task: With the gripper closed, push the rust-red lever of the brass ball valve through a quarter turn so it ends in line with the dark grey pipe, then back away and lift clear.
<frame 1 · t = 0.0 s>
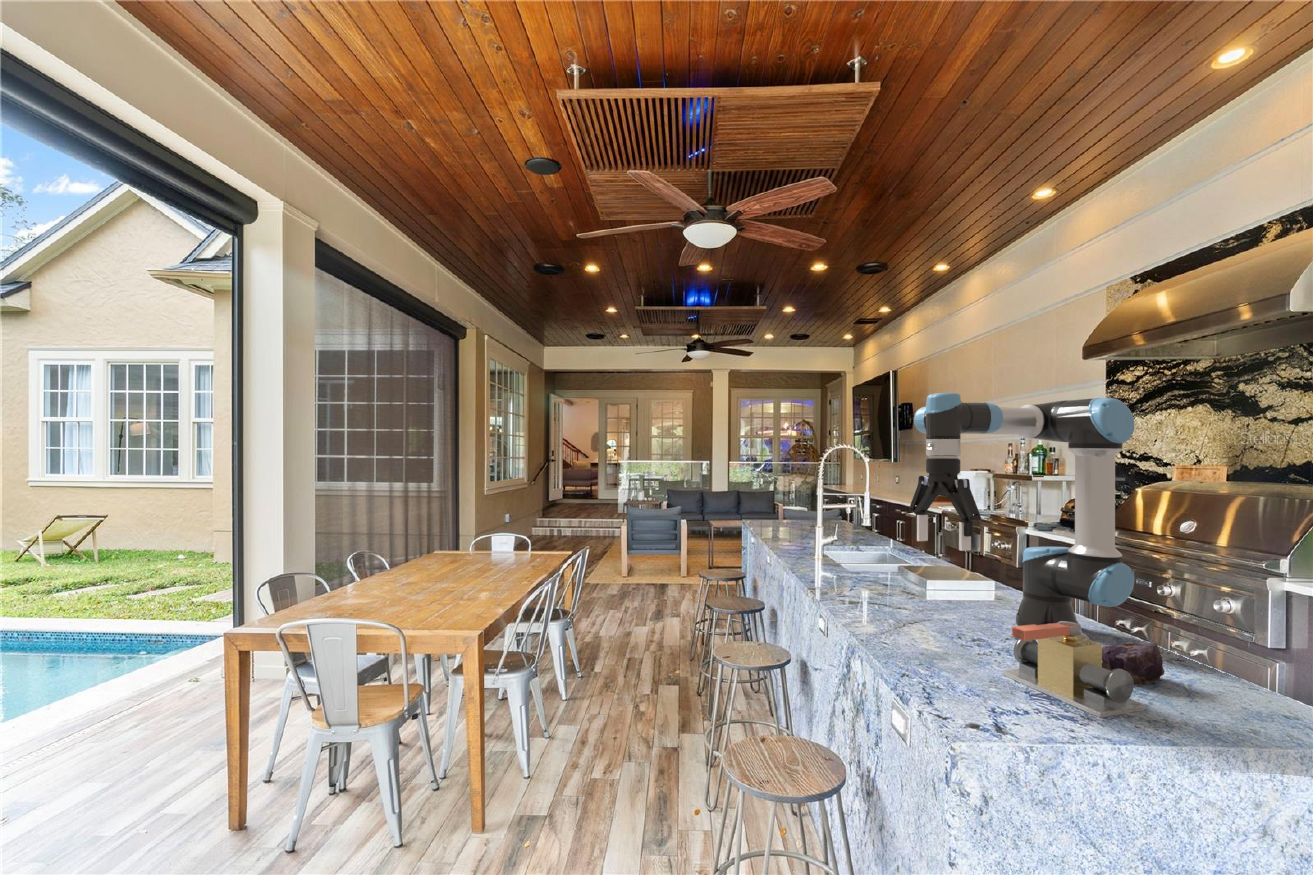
hand: (942, 545, 145), 28 cm above the countertop, fingers open, 13 cm apart
cup: (1069, 666, 142), on the countertop
rock: (1136, 681, 134), on the countertop
lever: (1047, 630, 126), point 14 cm above the countertop, hinge at 0.0°
valve: (1069, 691, 128), on the countertop
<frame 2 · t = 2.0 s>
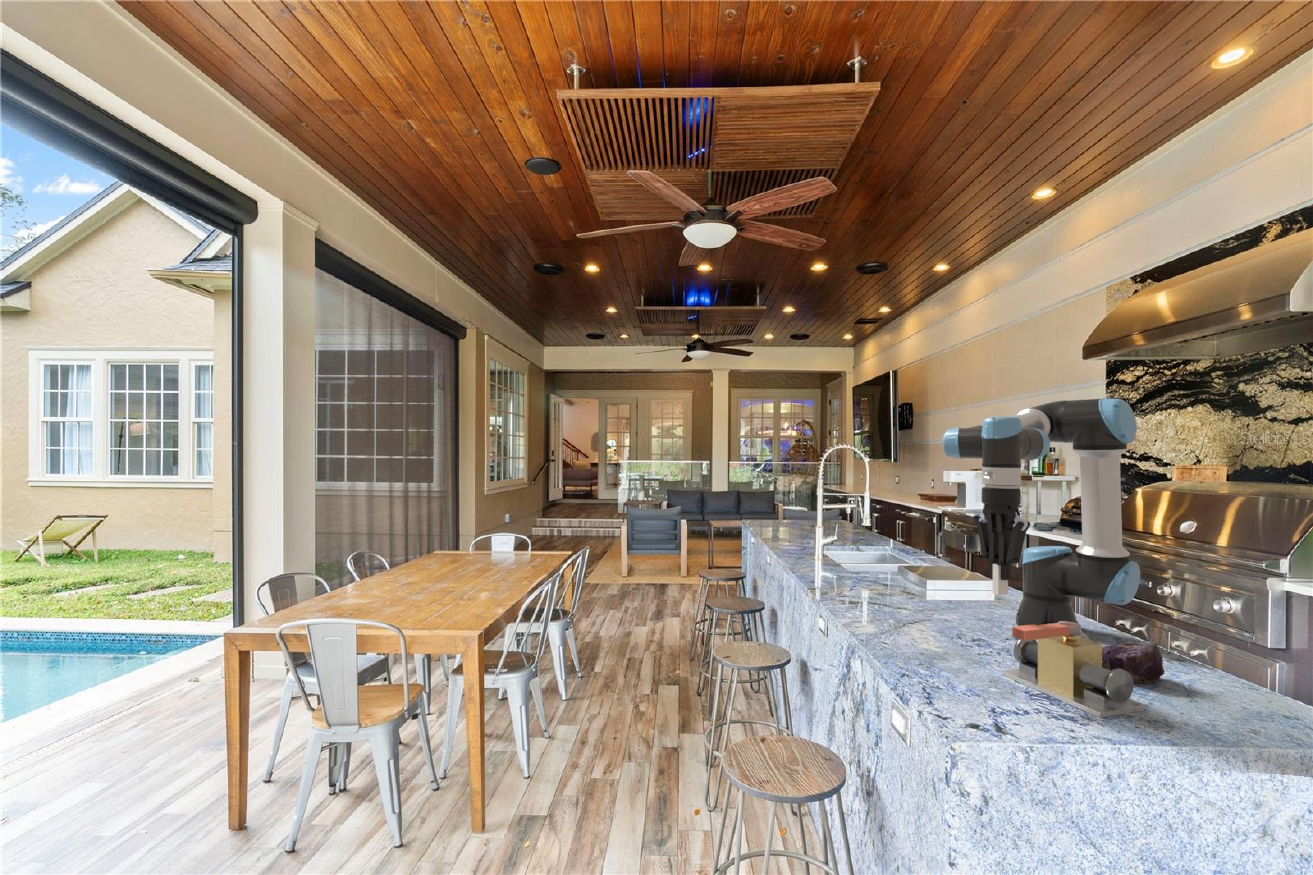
hand: (1000, 593, 132), 20 cm above the countertop, fingers closed
nothing on the countertop moved.
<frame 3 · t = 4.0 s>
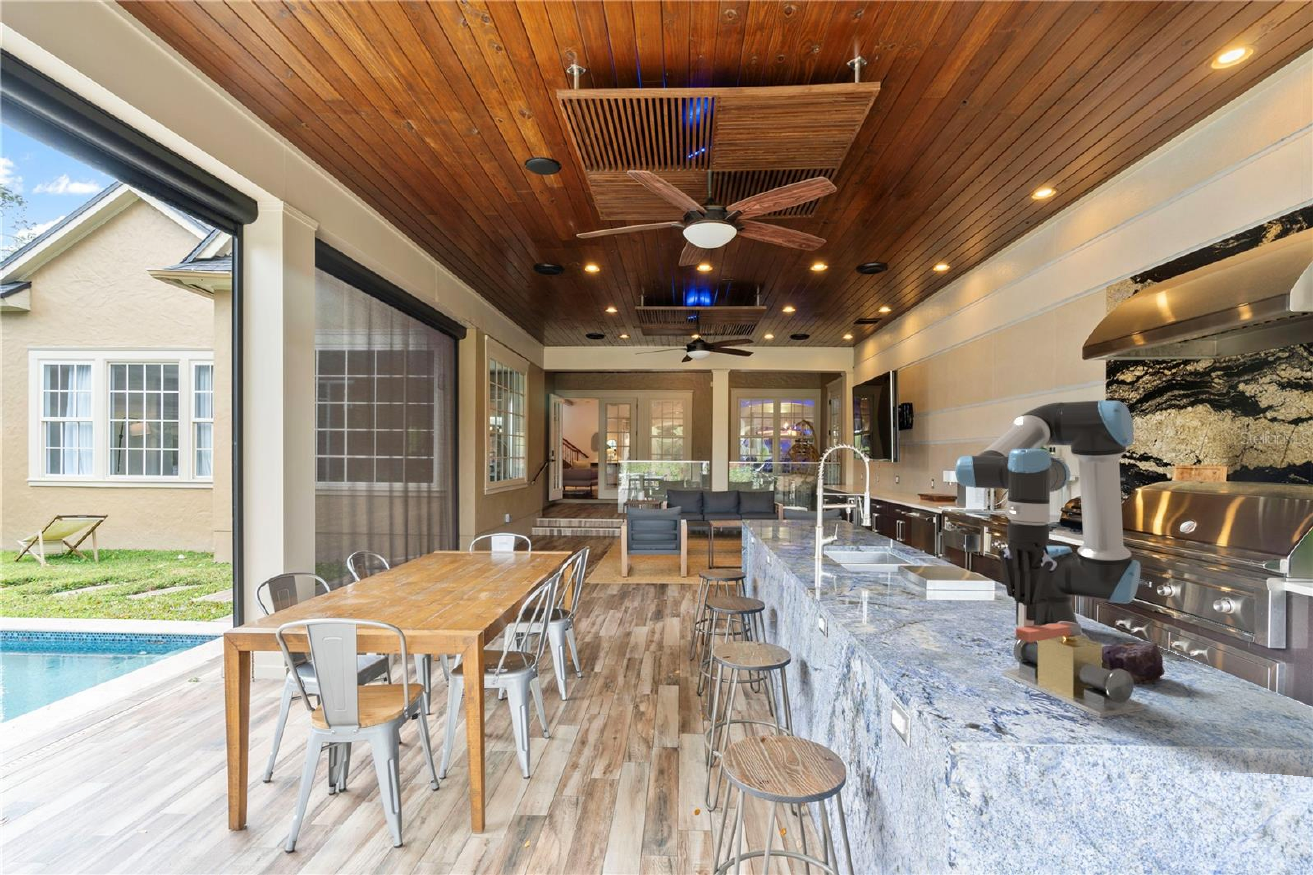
hand: (1025, 634, 126), 13 cm above the countertop, fingers closed
lever: (1049, 630, 126), point 14 cm above the countertop, hinge at 3.9°, touching gripper
everything else where it was.
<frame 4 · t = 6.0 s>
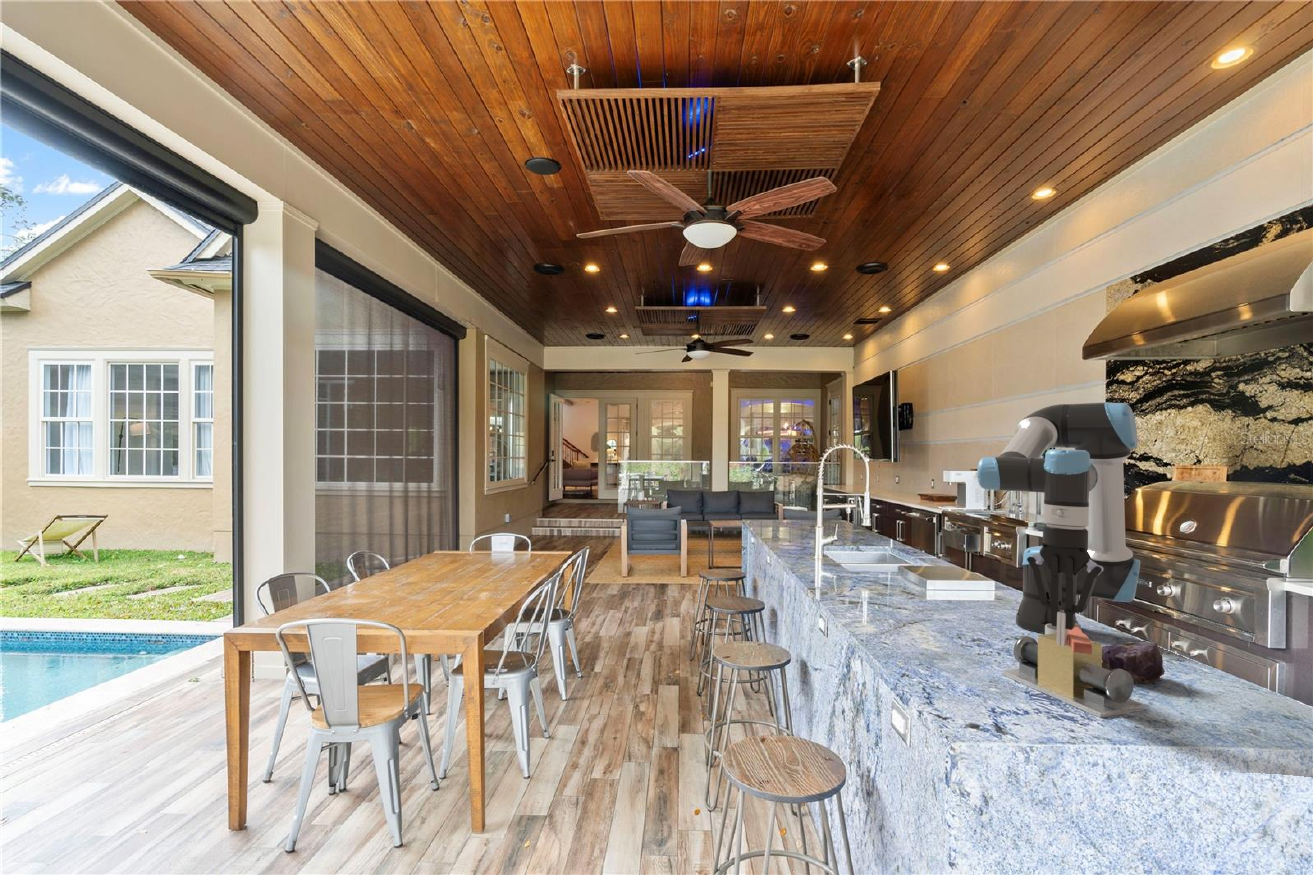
hand: (1062, 644, 120), 13 cm above the countertop, fingers closed
lever: (1074, 635, 122), point 14 cm above the countertop, hinge at 46.9°, touching gripper
everything else where it was.
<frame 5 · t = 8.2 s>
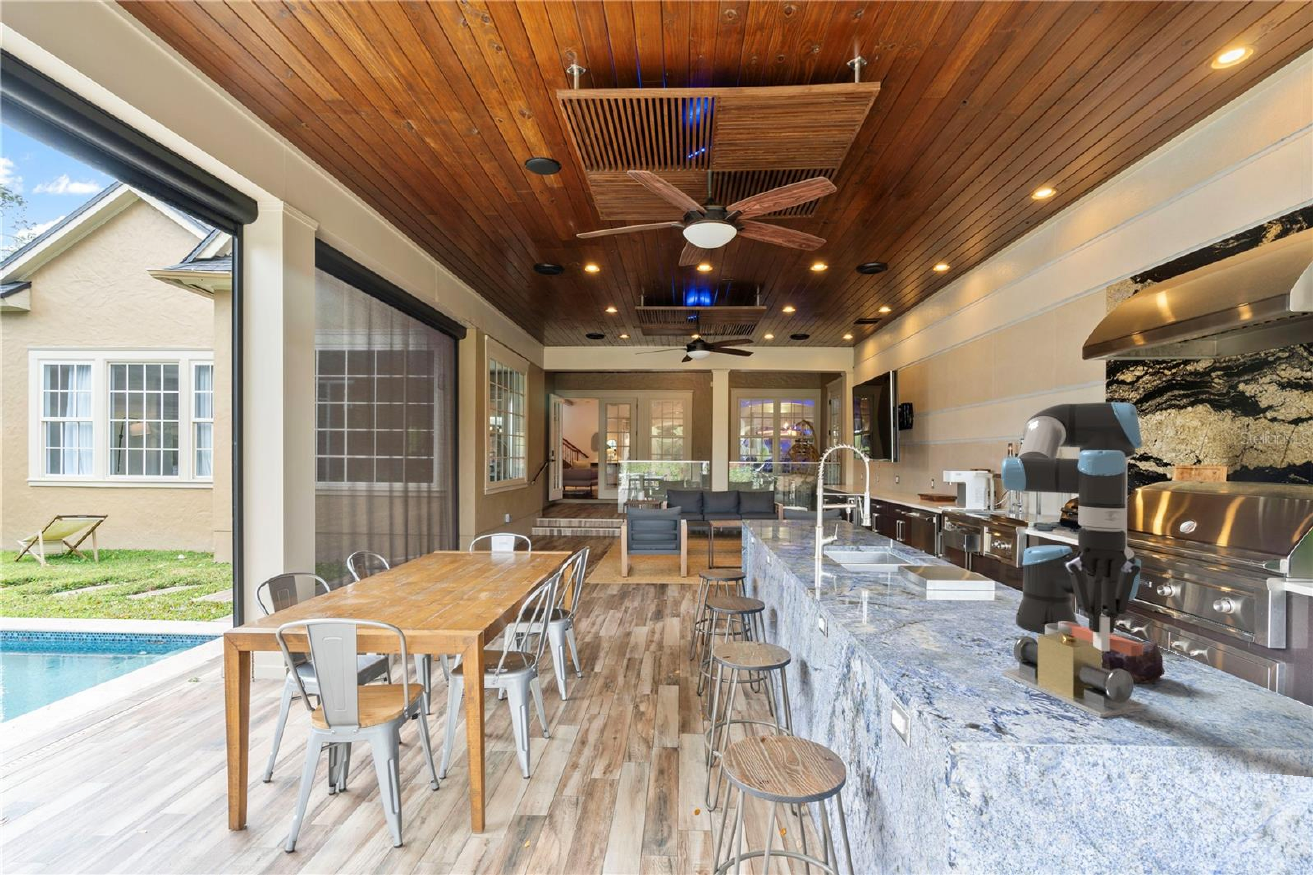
hand: (1101, 648, 118), 13 cm above the countertop, fingers closed
lever: (1096, 636, 122), point 13 cm above the countertop, hinge at 87.2°
everything else where it was.
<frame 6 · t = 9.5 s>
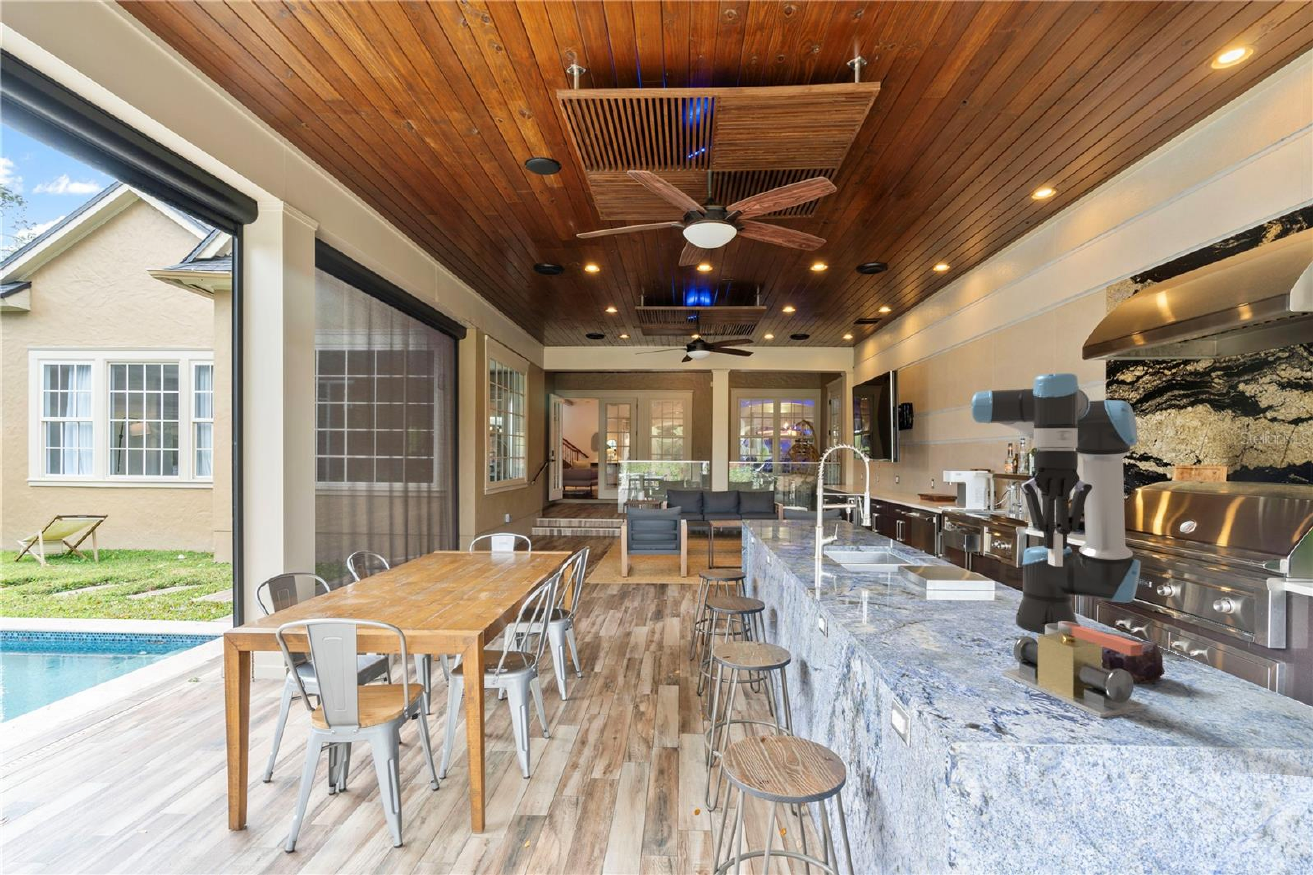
hand: (1055, 564, 123), 28 cm above the countertop, fingers closed
nothing on the countertop moved.
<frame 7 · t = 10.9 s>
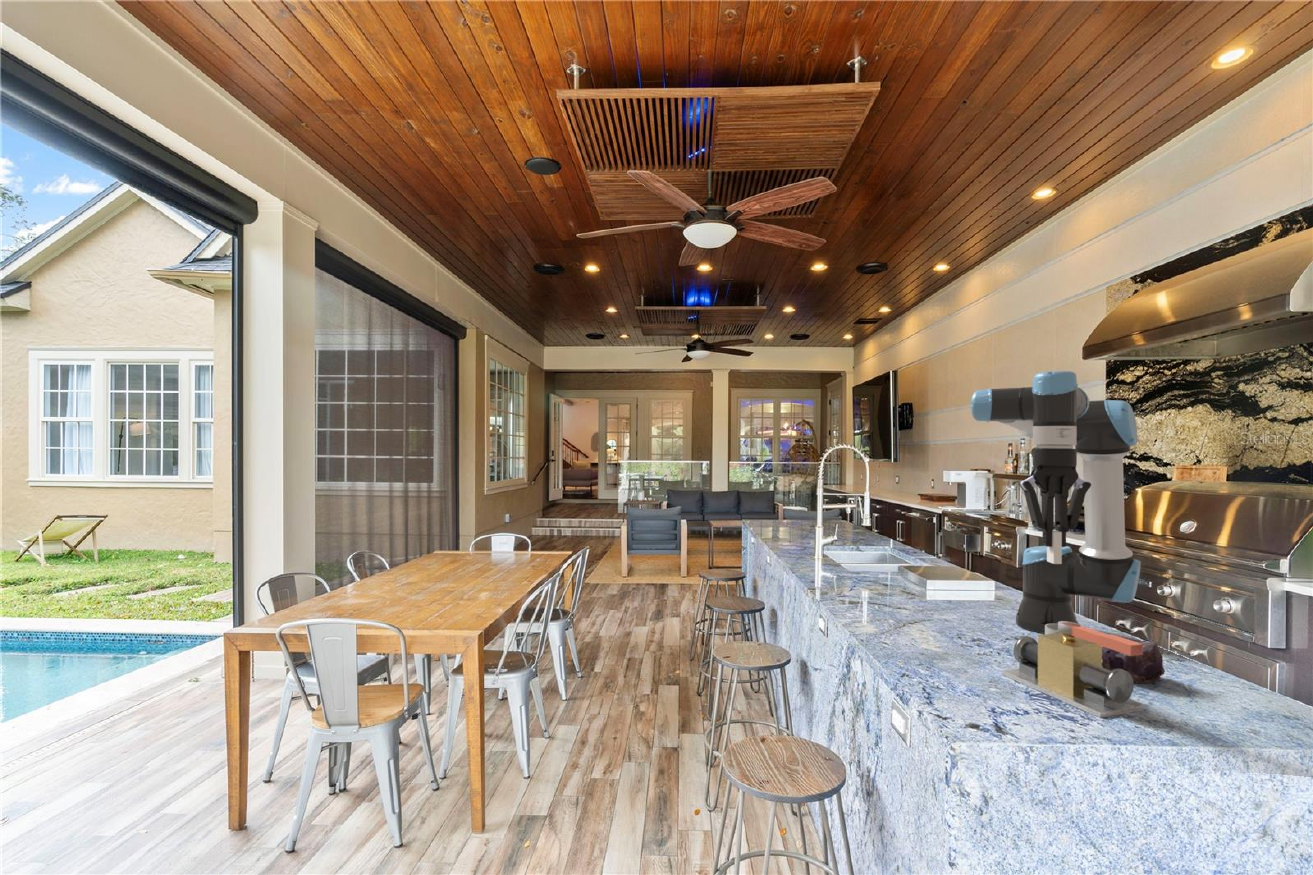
hand: (1054, 562, 123), 28 cm above the countertop, fingers closed
nothing on the countertop moved.
at the end: lever at +87° (first picture: +0°); lever touching nothing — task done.
